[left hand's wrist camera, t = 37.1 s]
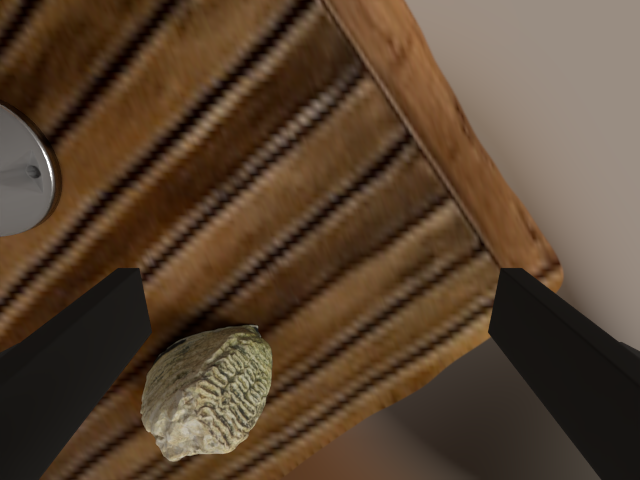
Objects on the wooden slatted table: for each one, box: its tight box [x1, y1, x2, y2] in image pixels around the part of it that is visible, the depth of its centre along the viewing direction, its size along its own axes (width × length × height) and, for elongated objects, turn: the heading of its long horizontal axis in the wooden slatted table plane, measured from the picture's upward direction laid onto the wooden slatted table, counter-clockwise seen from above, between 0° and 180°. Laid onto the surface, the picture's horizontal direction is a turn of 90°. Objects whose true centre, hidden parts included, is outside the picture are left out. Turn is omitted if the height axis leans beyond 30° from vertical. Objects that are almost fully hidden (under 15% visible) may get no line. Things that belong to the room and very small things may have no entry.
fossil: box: [141, 325, 272, 461], centre depth 40 cm, size 9×18×15 cm, turn 124°
